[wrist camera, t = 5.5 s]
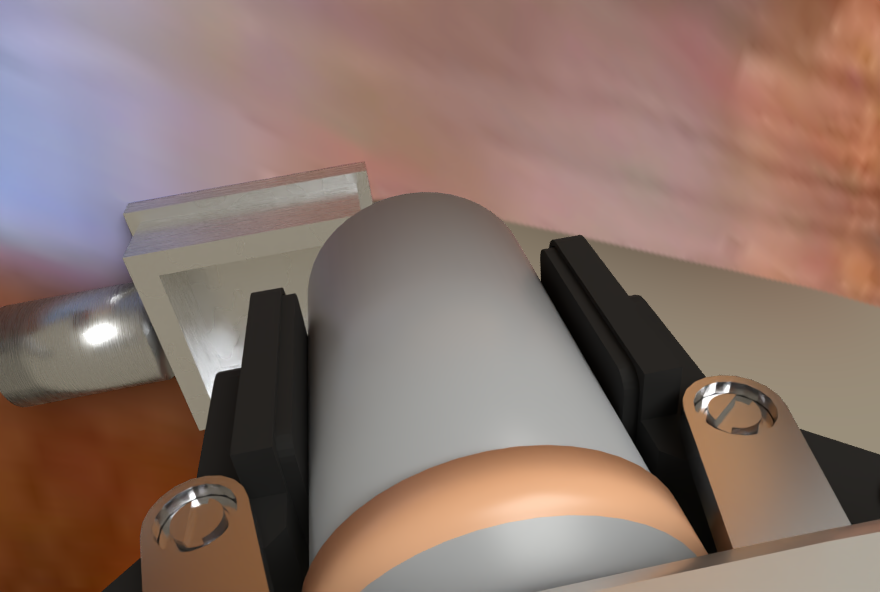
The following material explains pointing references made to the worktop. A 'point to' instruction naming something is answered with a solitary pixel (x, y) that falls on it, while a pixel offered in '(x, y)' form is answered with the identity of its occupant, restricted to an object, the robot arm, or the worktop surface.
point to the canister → (462, 419)
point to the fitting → (179, 290)
